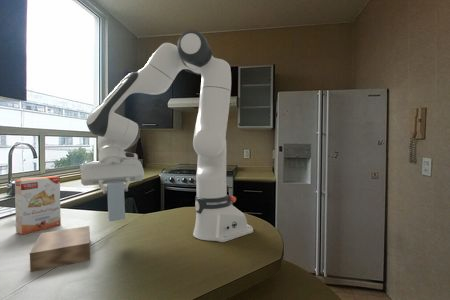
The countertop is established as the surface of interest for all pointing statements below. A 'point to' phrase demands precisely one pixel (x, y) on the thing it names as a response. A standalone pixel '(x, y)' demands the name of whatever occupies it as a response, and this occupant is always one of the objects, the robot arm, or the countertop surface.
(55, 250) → the walnut wood block
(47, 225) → the cracker box
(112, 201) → the block
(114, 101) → the robot arm
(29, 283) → the countertop surface
